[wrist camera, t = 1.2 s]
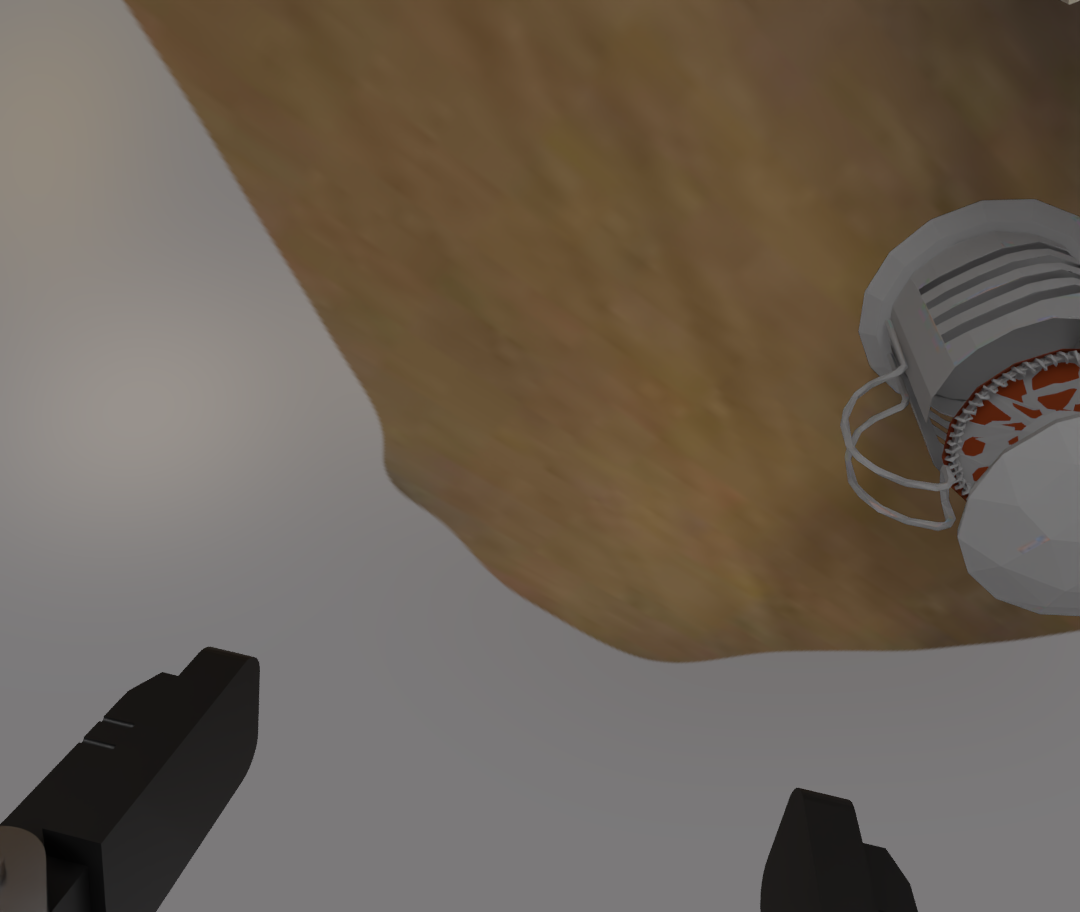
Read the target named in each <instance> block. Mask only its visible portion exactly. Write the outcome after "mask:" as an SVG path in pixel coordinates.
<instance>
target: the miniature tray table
mask: <svg viewBox="0 0 1080 912" xmlns="http://www.w3.org/2000/svg"><path fill="white" fill-rule="evenodd" d="M1060 1H1062V2H1064V3H1067V4H1072V3H1075V2H1078V1H1080V0H1060Z"/></svg>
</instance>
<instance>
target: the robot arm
mask: <svg viewBox="0 0 1080 912" xmlns="http://www.w3.org/2000/svg"><path fill="white" fill-rule="evenodd" d="M259 677H260V666H259V662H258V660H257V658H255V657H251V656H247V655H243V654H239V653H235V652H230V651H226V650H222V649H218V648H213V647H206V648H204V649H203V650H201V652H199V653H198V655H197V656H196V657H195V658H194V659H193V660H192V661H191V662H190V664H189V665H188V666H187V667H186V668H185V669H184V670H183V672H181V674H180V675H179V676H176V675H172V674H167V673H163V672H162V673H160V674H158V675H156V676H155V677H153V678H151V679H149V680H147V681H145V682H144V683H142V684H140V685H138V686H136V687H135V688H133V689H131V690H129V691H128V692H127V693H126V694H125V695H124V696H123V697H122V698H121V699H120V700H119V701H118V702H117V703H116V704H115V705H114V706H113V708H111V709H110V710H109V712H108V713H107V714H106V715H105V716H104V719H103V721H102V722H100V721H99V722H98V723H97V724H96V725H95V726H94V727H93V728H92V729H91V730H90V731H89V733H88V734H87V735H86V736H85V737H84V740H83V742H82V743H78V744H77V745H76V746H75V747H74V748H73V749H72V750H71V751H70V752H69V753H68V754H67V755H66V756H65V758H64V759H63V760H62V761H61V762H60V763H59V764H58V765H57V766H56V767H55V768H54V769H53V770H52V771H51V772H50V773H49V774H48V775H47V776H46V777H45V778H44V779H43V780H42V782H41V783H40V784H39V785H38V786H37V787H36V788H35V789H34V790H33V791H32V792H31V793H30V794H29V795H28V796H27V797H26V798H25V799H24V800H23V801H22V802H21V804H20V805H19V806H18V807H17V808H16V809H15V810H14V811H13V812H12V813H11V814H10V815H9V816H8V817H7V818H6V819H5V820H4V821H3V822H2V823H1V824H0V912H156V911H157V909H158V908H159V906H160V905H161V903H162V902H163V900H164V899H165V897H166V896H167V894H168V893H169V891H170V890H171V888H172V887H173V885H174V884H175V882H176V881H177V879H178V878H179V876H180V875H181V873H182V871H183V870H184V869H185V867H186V866H187V864H188V862H189V861H190V859H191V858H192V856H193V855H194V853H195V852H196V850H197V849H198V847H199V846H200V844H201V843H202V841H203V840H204V838H205V837H206V835H207V833H208V832H209V831H210V829H211V828H212V826H213V824H214V823H215V822H216V820H217V819H218V817H219V816H220V814H221V813H222V811H223V810H224V808H225V806H226V805H227V803H228V802H229V800H230V799H231V797H232V796H233V794H234V793H235V791H236V790H237V788H238V787H239V785H240V784H241V782H242V781H243V779H244V777H245V776H246V774H247V772H248V769H249V767H250V765H251V762H252V759H253V756H254V753H255V749H256V745H257V739H258V714H259ZM760 909H761V912H918V911H917V907H916V903H915V900H914V896H913V893H912V889H911V886H910V883H909V882H908V880H907V879H906V878H905V876H904V874H903V873H902V872H901V870H900V869H899V867H898V866H897V864H896V863H895V861H894V860H893V858H892V857H891V856H890V854H889V853H888V851H887V850H886V848H882V847H877V846H873V845H869V844H865V843H863V842H862V838H861V834H860V830H859V825H858V821H857V817H856V813H855V809H854V806H853V804H852V802H851V801H850V800H847V799H843V798H839V797H834V796H831V795H826V794H822V793H817V792H813V791H809V790H805V789H801V788H796V789H794V791H793V792H792V794H791V796H790V798H789V801H788V804H787V806H786V809H785V812H784V815H783V818H782V820H781V823H780V826H779V829H778V831H777V834H776V837H775V840H774V843H773V845H772V848H771V851H770V853H769V856H768V859H767V862H766V865H765V870H764V874H763V879H762V887H761V903H760Z"/></svg>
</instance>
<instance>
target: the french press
mask: <svg viewBox="0 0 1080 912" xmlns="http://www.w3.org/2000/svg"><path fill="white" fill-rule="evenodd" d="M859 335H860V338H861V341H862V344H863V347H864V350H865V353H866V356H867V359H868V362H869V365H870V367H871V368H872V369H873V370H874V371H875V372H876V373H877V374H878V375H879V376H880V377H878V378H876V379H874V380H871V381H869V382H868V383H867V384H865V385H864V386H863V387H861V388H860V389H858V390H857V391H856V392H855V393H854V394H853V396H852V397H851V399H850V400H849V402H848V403H847V405H846V406H845V408H844V409H843V414H842V419H841V424H840V426H841V430H842V434H843V437H844V441H845V445H846V447H847V449H846V453H845V462H846V469H847V476H848V482H849V484H850V485H851V487H852V488H853V489H854V491H855V492H856V494H857V495H858V496H859V497H860V498H861V499H862V500H863V501H865V502H866V503H867V504H868V505H870V506H871V507H872V508H873V509H875V510H876V511H877V512H879V513H881V514H884V515H886V516H888V517H891V518H893V519H895V520H897V521H900V522H902V523H904V524H908V525H913V526H918V527H923V528H928V529H933V530H938V531H939V530H943V529H947V528H950V527H951V526H952V525H953V523H954V521H955V520H956V518H955V515H954V512H953V510H952V507H951V504H950V502H949V488H950V487H951V488H952V489H954V490H955V491H956V492H957V493H958V494H959V495H960V496H961V497H962V498H963V499H964V500H965V501H966V505H965V508H964V511H963V514H962V518H961V521H960V524H959V527H958V541H959V544H960V547H961V551H962V554H963V557H964V561H965V564H966V567H967V571H968V573H969V574H970V575H971V576H972V577H973V578H974V579H975V580H976V581H978V582H979V583H980V584H981V585H982V586H983V587H984V588H985V589H986V590H987V591H988V592H989V593H990V594H992V595H993V596H994V597H995V598H996V599H999V600H1001V601H1004V602H1007V603H1010V604H1013V605H1016V606H1018V607H1021V608H1024V609H1027V610H1030V611H1032V612H1035V613H1038V614H1048V615H1068V616H1080V217H1079V216H1077V215H1074V214H1071V213H1069V212H1066V211H1064V210H1061V209H1059V208H1056V207H1054V206H1051V205H1048V204H1046V203H1043V202H1041V201H1038V200H1036V199H1019V200H982V201H979V202H976V203H974V204H971V205H968V206H966V207H963V208H960V209H958V210H955V211H952V212H950V213H947V214H944V215H942V216H939V217H936V218H934V219H931V220H930V221H928V222H927V223H926V224H924V225H923V226H922V227H921V228H919V229H918V230H917V231H916V232H914V233H913V234H912V235H911V236H909V237H908V238H907V239H906V240H904V241H903V242H902V243H901V244H899V245H898V246H897V247H896V248H894V249H893V250H892V251H891V252H889V254H888V256H887V257H886V259H885V260H884V262H883V264H882V265H881V267H880V268H879V270H878V272H877V273H876V275H875V276H874V278H873V280H872V281H871V283H870V284H869V286H868V288H867V289H866V291H865V294H864V301H863V307H862V313H861V320H860V326H859ZM883 382H886V383H887V384H888V385H889V386H890V387H891V388H892V389H893V390H895V391H896V392H897V393H899V394H901V396H902V401H901V403H900V404H898V405H896V406H894V407H891V408H889V409H887V410H885V411H883V412H881V413H879V414H876V415H874V416H872V417H871V418H870V419H868V420H867V421H866V422H865V423H863V424H862V425H861V426H860V427H858V428H857V429H856V430H855V431H854V433H853V435H852V437H851V432H850V426H849V419H848V418H849V416H850V414H851V411H852V409H853V407H854V405H855V402H856V400H857V399H858V398H859V397H861V396H862V395H863V394H865V393H866V392H867V391H869V390H870V389H871V388H873V387H875V386H877V385H879V384H881V383H883ZM909 401H910V404H911V407H912V409H913V412H914V415H915V417H916V420H917V422H918V425H919V428H920V430H921V433H922V435H923V438H924V441H925V443H926V446H927V449H928V451H929V454H930V456H931V459H932V462H933V464H934V466H935V467H936V468H937V469H938V470H939V471H940V483H939V484H935V483H929V482H922V481H916V480H909V479H905V478H903V477H900V476H898V475H896V474H893V473H891V472H888V471H886V470H884V469H881V468H879V467H877V466H876V465H874V464H873V463H872V462H870V461H869V460H868V459H866V458H865V457H863V456H862V455H861V454H860V453H859V451H858V450H857V449H856V448H855V445H856V443H857V440H858V438H859V436H860V434H861V432H863V431H864V430H865V429H867V428H868V427H869V426H871V425H872V424H873V423H875V422H876V421H878V420H880V419H883V418H885V417H887V416H890V415H892V414H894V413H896V412H899V411H901V410H903V409H904V408H905V407H906V406H907V405H908V404H909ZM930 406H931V407H932V408H934V409H935V410H937V411H938V412H939V413H941V414H945V415H948V416H951V417H954V418H953V419H952V421H951V422H949V421H945V420H943V419H942V418H940V417H939V416H938V415H936V414H935V413H933V412H932V411H930ZM929 417H930V418H931V419H933V420H934V421H936V422H937V423H939V424H940V425H942V426H943V427H945V428H946V429H948V432H947V434H946V433H944V432H943V431H942V430H940V429H939V428H937V427H936V426H934V425H933V424H932V423H931V421H930V418H929ZM936 435H938V436H939V437H941V438H942V439H944V440H945V445H943V444H941V443H940V442H939V441H938V438H937V436H936ZM852 455H853V457H854V458H855V459H856V460H857V461H859V462H860V463H862V464H863V465H865V466H866V467H867V468H869V469H870V470H872V471H873V472H875V473H876V474H878V475H880V476H882V477H884V478H886V479H889V480H891V481H893V482H896V483H898V484H900V485H903V486H906V487H912V488H919V489H926V490H932V491H939V490H940V496H941V503H942V507H943V511H944V515H945V519H946V521H945V522H933V521H927V520H921V519H915V518H909V517H907V516H905V515H902V514H900V513H898V512H896V511H893V510H891V509H889V508H887V507H884V506H882V505H881V504H879V503H878V502H877V501H876V500H875V499H873V498H872V497H871V496H870V495H868V494H867V493H866V492H865V491H864V490H863V489H862V488H861V487H860V486H859V485H858V483H857V480H856V476H855V473H854V469H853V466H852V462H851V458H852Z"/></svg>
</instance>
